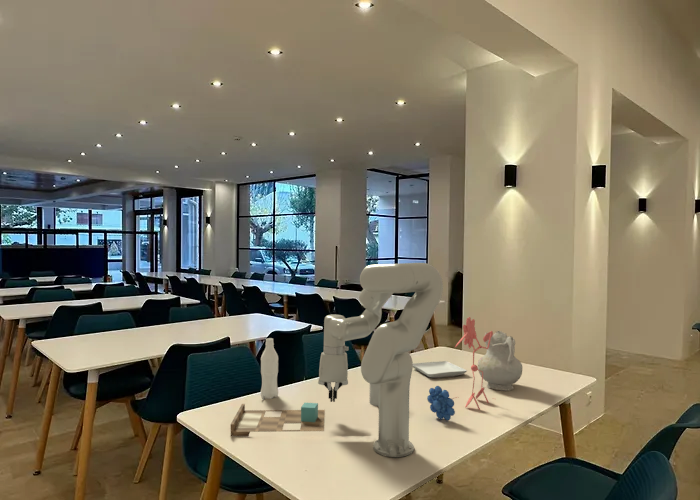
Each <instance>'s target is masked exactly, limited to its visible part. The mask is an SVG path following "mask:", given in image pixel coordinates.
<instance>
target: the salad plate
mask: <svg viewBox="0 0 700 500" xmlns="http://www.w3.org/2000/svg"><path fill="white" fill-rule="evenodd" d="M412 369H415V370H416V371H417V372H420V373H421V374H424V375H425V376H427V377H428V378H432V379H433V378H434V379H436V378H437V379H438V378H449V377H457V376H460V375H464V374H466V373H467V372H468V370H467V369H465V368H463V367H460V366H458V365H457V364H454V363H452V362H449V361H448V360H439V361H426V362H424V361H423V362H416V363H414V362H413V368H412Z"/></svg>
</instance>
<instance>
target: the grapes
mask: <svg viewBox="0 0 700 500" xmlns="http://www.w3.org/2000/svg"><path fill="white" fill-rule="evenodd" d="M428 392H429V394H428V396H427V398H426V400H427V402H428V403H429V404H430V406H429V409H430V411H431V412H432V413H434V414H435V415H436V418H437V419H438V420H443V419H444V420H445V421H446V422H448V421H450V420H451V419H452V417H454V415H456V410H455V408H454V406H455V402H454V400H453V398H452V397H451V398H450V393H449V391H448V390H446V389H443V388H442V387H441V386H439V385H436V386H435V387H430V388H429V391H428ZM451 416H452V417H451Z"/></svg>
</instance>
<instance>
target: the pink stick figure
mask: <svg viewBox="0 0 700 500" xmlns="http://www.w3.org/2000/svg"><path fill="white" fill-rule="evenodd" d="M465 322H466V323H465V324H463V325H462V330H463V336H462V337H461V338H460V339H459V341H458V342H457V343H456V344H455V346H454V348H456V347H458V346H459V345H460V344H461V343H462V341H463V343H464V345H465V346H466V345H467V347H468V348H469V349H471V347H472V348H473V352H472V365H471V366H470V371H472V376H473V380H472V381H473V382H472V391H471V392H472V393H471V395H470V397H469V398H468V400H467V401H466V404H465V408H467V407H468V406H469V405H470V403H471V402H472V401H473V400H474V401H475V404H476V406H477V409H478V410H481V408H480V405H479V404H478V402H477V400H478V399H479V397H480V396H481V395H482V394H483V396H484V398H485V400H486V403H487V404H489V403H490V402H489V399H488V398H487V395H486V394H485V387H483V385H481V386H480V390H479V391H478V392H477V394H476V393H475V392H474V387H475V374H474V372H477V371H478V372H479V371H480V370H478V364H475V352H477V351H478V350H480V349H485V350H487V349H488V348H489V344H490V340H491V337H492V336H493V335H494V332H493V330H491V331H489V332H486V333H487V334H486V335H485V334H484V335H485V336H483V338H482V340H483V342H484V343H485V342H486V341H487V340H489V343H488V347H486V346H482V345H481V344H480V342H479V340H478V338H477V332H476V327H475V324H476V320H475V318H473V319H471V316H468V317H467V318H466V321H465ZM474 340H475V341H476V343H477V344H478V347H477V348H475V345H474ZM481 372H482V377H481V384H483V380H484V379H483V371H481ZM475 395H476V396H475ZM457 398H458V396H456V397H453V398H452V400H453V399H457ZM492 399H494V400H495V398H492Z"/></svg>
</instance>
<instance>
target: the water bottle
mask: <svg viewBox="0 0 700 500" xmlns="http://www.w3.org/2000/svg"><path fill="white" fill-rule="evenodd" d="M274 345H275V343H274V338H272V337H269V338H266V339H265V348H264V350H263V351H262V354H261V357H260V374H261V388H260V396H261V399H262V401H265V399H273V398H277V397H278V396H279V389H278V388H279V386H278V373H279V355H278V353H277V351H276V349H275V348H274V347H275V346H274Z"/></svg>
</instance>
